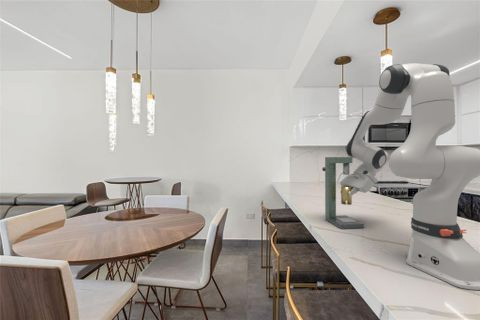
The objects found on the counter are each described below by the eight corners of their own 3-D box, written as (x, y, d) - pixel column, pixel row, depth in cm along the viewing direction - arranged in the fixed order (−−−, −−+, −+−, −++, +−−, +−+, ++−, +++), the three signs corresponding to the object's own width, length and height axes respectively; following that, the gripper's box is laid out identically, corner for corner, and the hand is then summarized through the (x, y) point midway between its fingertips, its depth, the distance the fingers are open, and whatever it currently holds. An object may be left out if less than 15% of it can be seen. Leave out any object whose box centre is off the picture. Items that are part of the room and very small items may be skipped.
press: (364, 227, 111) (364, 157, 110) (339, 228, 110) (339, 157, 109) (339, 215, 133) (339, 156, 132) (319, 216, 132) (319, 157, 131)
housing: (353, 204, 115) (353, 186, 115) (344, 204, 114) (344, 187, 114) (348, 202, 120) (348, 185, 120) (339, 202, 119) (339, 185, 119)
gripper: (347, 169, 128) (331, 187, 127) (372, 172, 107) (352, 193, 107) (354, 177, 128) (338, 195, 128) (380, 181, 108) (361, 202, 107)
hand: (345, 194), depth 117 cm, fingers closed on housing, 5 cm apart
